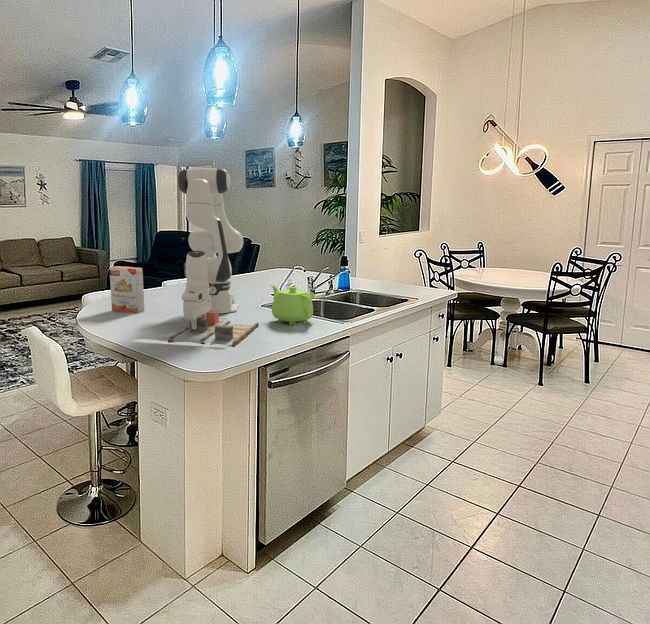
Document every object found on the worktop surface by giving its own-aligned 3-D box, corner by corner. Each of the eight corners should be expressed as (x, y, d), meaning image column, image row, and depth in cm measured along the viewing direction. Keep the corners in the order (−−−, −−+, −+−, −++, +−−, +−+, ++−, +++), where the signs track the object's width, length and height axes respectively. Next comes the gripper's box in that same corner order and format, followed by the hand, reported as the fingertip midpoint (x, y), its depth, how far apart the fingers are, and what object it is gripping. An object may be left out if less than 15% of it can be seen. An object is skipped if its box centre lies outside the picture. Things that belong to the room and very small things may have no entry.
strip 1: (210, 320, 243) (210, 306, 242) (227, 321, 242) (227, 307, 241) (187, 334, 218) (187, 319, 217) (206, 335, 217) (206, 320, 216)
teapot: (330, 321, 247) (331, 286, 244) (297, 328, 232) (297, 292, 228) (291, 312, 264) (292, 280, 260) (257, 319, 248) (257, 284, 245)
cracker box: (111, 311, 257) (108, 267, 253) (118, 308, 263) (116, 265, 258) (137, 313, 254) (135, 268, 249) (144, 310, 259) (142, 267, 255)
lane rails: (200, 323, 237) (200, 319, 236) (258, 327, 233) (258, 322, 233) (168, 342, 206) (168, 337, 205) (235, 347, 202) (235, 341, 202)
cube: (207, 321, 236) (207, 310, 234) (218, 322, 235) (218, 310, 234) (203, 324, 231) (203, 312, 230) (214, 324, 230) (214, 313, 229)
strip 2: (233, 327, 231) (233, 312, 230) (252, 328, 230) (251, 313, 229) (212, 342, 206) (211, 327, 205) (232, 344, 205) (232, 328, 204)
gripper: (199, 287, 226) (200, 320, 229) (179, 296, 207) (181, 332, 209) (214, 288, 225) (215, 321, 228) (195, 297, 206) (196, 333, 209)
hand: (198, 326), depth 219 cm, fingers open, 7 cm apart
